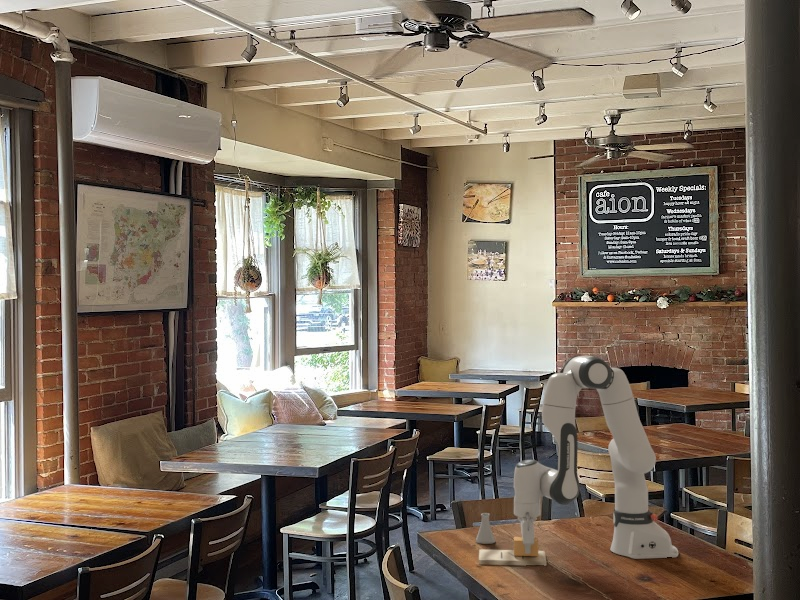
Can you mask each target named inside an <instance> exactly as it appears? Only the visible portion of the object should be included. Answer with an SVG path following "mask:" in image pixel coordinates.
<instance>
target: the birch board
mask: <svg viewBox="0 0 800 600" xmlns="http://www.w3.org/2000/svg"><path fill="white" fill-rule="evenodd" d="M478 565H485V566H488V565H489V566H526V565H544V566H543V567H545V566H547V565H548V564H547V558H546V552H545V550H538V556H514V549H485V548H484V549H479V551H478Z"/></svg>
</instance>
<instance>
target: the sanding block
mask: <svg viewBox="0 0 800 600" xmlns="http://www.w3.org/2000/svg"><path fill="white" fill-rule="evenodd" d="M513 550H514V556H538V551H539V538H538V537H535V536H534V544H533V545H531V553H530V554H526V553H525V544H523V541H522V536H513Z"/></svg>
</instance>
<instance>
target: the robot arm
mask: <svg viewBox="0 0 800 600" xmlns="http://www.w3.org/2000/svg"><path fill="white" fill-rule="evenodd" d="M582 389H590V390H591V389H592V390H596V391H597V393H598V396H599V399H600V404H601V407H602V408H601V409H602V411H603V416H604V418H605V423H606V426H607V428H608V429H609V432H610V434H611V436H612V439H611V440H610V442H609V443H608V446H607V447H608V454H609V457H610V464H611V470H612V476H613V482H614V509H613V514H612V515H613V517H612V518H613V519H612V521H613V526H614V528H613V536H612V537H613V538H612V541H611V546H610V547H609V549H610V551H611V552H613V554H617V555H619V556H620V555H621V556H623V557H627V558H630V559H635V560H636V559H638V560H639V559H643V560H644V559H663V558H664V559H665V558H666V559H667V557H672V558H677V557H679V550H678V548H677V547H676V546H674V545H672V539H671V537H670V536H671V535H670V534H669V532H668V531H666V530H665V529H664V528H663V527H662V526H660V525H659V524H657V522H656V521H657V520H658V516H657V514H655V513H654V512H653V511H651V510H649V487H648V484H647V481H646V477H645V474H647V473H649V472H651V471H652V470H653V469H654V467H655V466H656V463H657V457H656V452H655V451H654V449H653V447H652V446H651V443H650V441H649V438H648V435H647V433H646V432H645V428H644V426H643V424H642V422H641V420H640V416H639V413H638V409H637V406H636V405H637V404H636V401H635V398H634V394H633V391H632V388H631V385H630V382H629V380H628V378H627V375H626V374H625V372H624V371H623V370H622V369H621V368H618V367H610V366H609V364H608V362H606V361H605V360H603V359H602V358H600V357H598V356H592V355H587V354H585V355H575V356H571V357H570V358H568V359H567V361H565V364H564V365H563V367H562V368H561V370H560V371H559V372H558V373H557V372H556V373H553V374H552V375H550V376H549V378H548V380H547V382H546V386H545V389H544V394H543V399H542V400H543V401H542V407H541V420H542V424H543V426H544V427H545V428H546V429H547V430H548V431H549V433H550V434H552V436H553V437H554V439H555V440H556V443H557V446H558V449H557V450H558V452H557V453H558V455H557V457H558V458H557V460H558V461H557V469H555V468H552V467H549V466H546V465H543V464H542V463H540V462H539V461H538V460H535V459H523V460H521V461H519V462H517V463H516V465H515V468H514V472H513V473H514V474H513V489H514V497H513V515H514V516H515V517H517V520H518V521H519V523H520V524H519V525H520V530H521V537H522V541H523V544H525V553H526V554H530V553H531V545H533V544H534V537H535V525H534V524H535V523H534V522H535V521H537V519H538V518H537V517H540V516H541V498H543V497H546V498H547V499H550V500H551V501H554V502H555V503H557V504H559V505H562V506H567V505H570V504H572V503H573V502H575V501H576V500H577V498H578V496H579V494H580V490H581V489H580V488H581V487H580V480H579V477H578V445H579V444H578V432H577V428H576V408H577V407H576V406H577V398H578V395H579V393H580V391H581V390H582Z"/></svg>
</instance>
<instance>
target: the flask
mask: <svg viewBox="0 0 800 600" xmlns="http://www.w3.org/2000/svg"><path fill="white" fill-rule="evenodd" d="M480 516H481V522H480V527H479V529H478V532H477V535H476V537H475V538H476V539H475V542H476V544H483V545H489V544H490V545H491V544H494V543H496V538H495V536H494V534H493V531H492V530H493V529H492V527H491V523H490V516H491V513H488V512H482V513H481V514H480Z"/></svg>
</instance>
